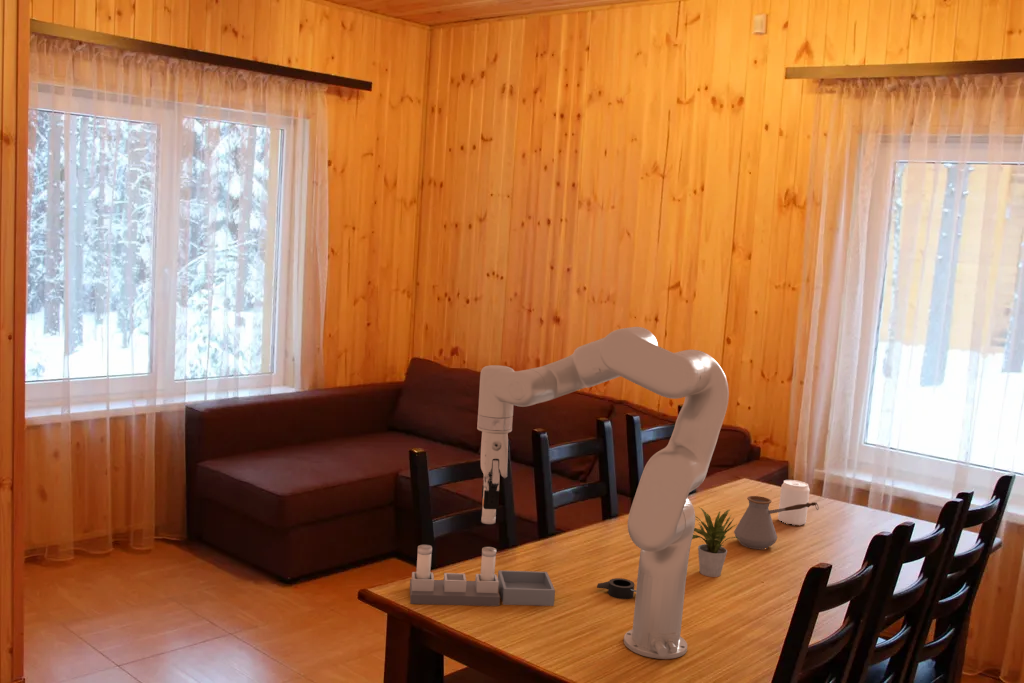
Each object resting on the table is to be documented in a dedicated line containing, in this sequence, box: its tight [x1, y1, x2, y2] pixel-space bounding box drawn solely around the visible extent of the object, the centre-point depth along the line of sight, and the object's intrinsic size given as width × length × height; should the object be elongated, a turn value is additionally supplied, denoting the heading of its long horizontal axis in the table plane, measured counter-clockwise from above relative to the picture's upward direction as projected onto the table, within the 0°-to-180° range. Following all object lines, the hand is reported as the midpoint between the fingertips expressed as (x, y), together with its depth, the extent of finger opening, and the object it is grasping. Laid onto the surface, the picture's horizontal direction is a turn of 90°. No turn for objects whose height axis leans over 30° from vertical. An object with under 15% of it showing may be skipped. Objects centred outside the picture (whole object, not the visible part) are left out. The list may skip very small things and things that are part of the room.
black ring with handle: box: [596, 577, 636, 600], centre depth 223 cm, size 8×10×3 cm
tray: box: [497, 569, 556, 607], centre depth 217 cm, size 11×11×4 cm
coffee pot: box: [733, 495, 819, 550], centre depth 264 cm, size 21×12×15 cm, turn 61°
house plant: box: [692, 506, 739, 578], centre depth 242 cm, size 14×14×16 cm
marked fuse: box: [480, 480, 497, 525], centre depth 212 cm, size 3×3×9 cm
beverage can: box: [777, 479, 811, 526], centre depth 291 cm, size 8×8×12 cm
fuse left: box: [415, 544, 433, 579], centre depth 212 cm, size 3×3×9 cm
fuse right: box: [480, 546, 497, 581], centre depth 214 cm, size 3×3×9 cm
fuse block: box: [409, 571, 501, 607], centre depth 213 cm, size 9×19×4 cm, turn 97°
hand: (489, 505), depth 213 cm, fingers closed on marked fuse, 3 cm apart
